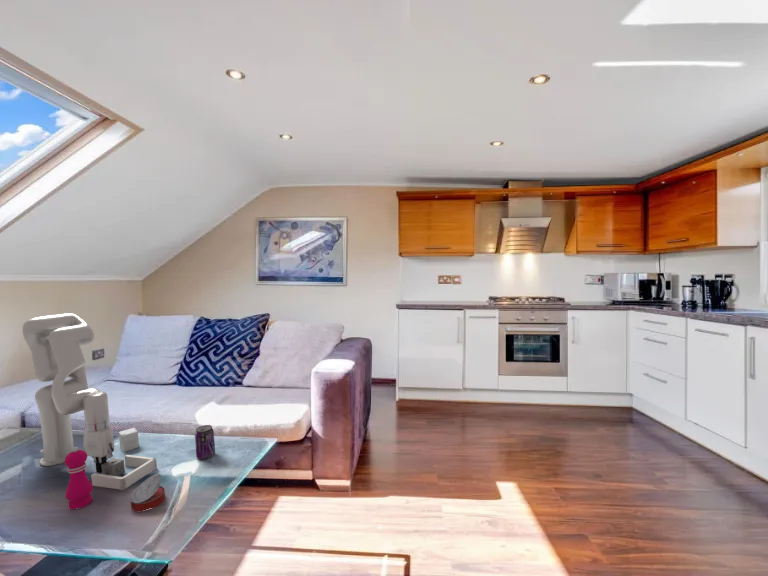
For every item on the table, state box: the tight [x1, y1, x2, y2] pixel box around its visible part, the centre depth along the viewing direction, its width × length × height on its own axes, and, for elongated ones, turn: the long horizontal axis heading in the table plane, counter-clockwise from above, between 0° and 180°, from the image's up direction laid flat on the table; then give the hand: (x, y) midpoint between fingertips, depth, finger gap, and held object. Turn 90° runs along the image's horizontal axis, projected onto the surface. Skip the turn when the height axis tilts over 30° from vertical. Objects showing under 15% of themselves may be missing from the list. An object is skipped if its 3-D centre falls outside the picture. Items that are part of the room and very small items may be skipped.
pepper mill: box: [64, 446, 93, 510], centre depth 133 cm, size 7×7×20 cm
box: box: [90, 454, 158, 491], centre depth 150 cm, size 14×15×4 cm
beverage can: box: [194, 424, 216, 460], centre depth 164 cm, size 7×7×12 cm
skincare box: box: [118, 427, 140, 453], centre depth 174 cm, size 6×6×7 cm
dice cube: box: [101, 457, 126, 477], centre depth 152 cm, size 5×5×5 cm
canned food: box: [130, 473, 166, 513], centre depth 134 cm, size 11×10×10 cm
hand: (101, 471), depth 153 cm, fingers closed
